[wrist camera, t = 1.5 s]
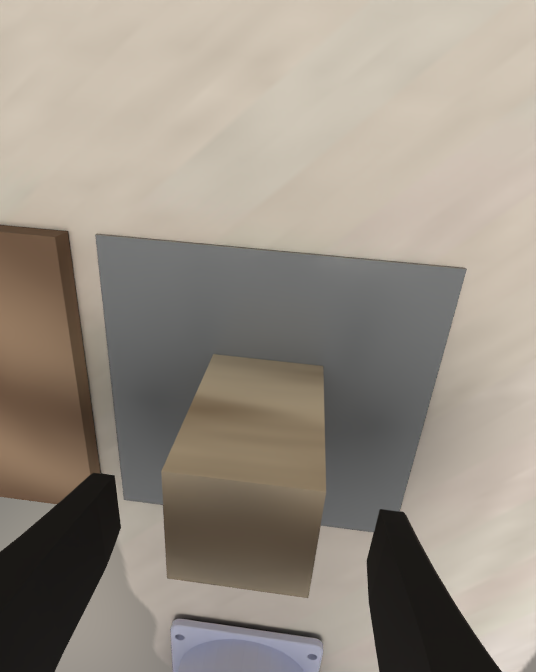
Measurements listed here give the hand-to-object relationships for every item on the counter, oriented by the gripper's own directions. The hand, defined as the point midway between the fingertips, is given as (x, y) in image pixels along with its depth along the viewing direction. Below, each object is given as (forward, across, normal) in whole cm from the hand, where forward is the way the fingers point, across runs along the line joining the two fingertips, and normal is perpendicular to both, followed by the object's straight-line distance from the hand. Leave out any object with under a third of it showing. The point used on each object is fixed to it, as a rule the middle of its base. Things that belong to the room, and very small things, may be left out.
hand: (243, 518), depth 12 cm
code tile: (+6, 0, 0) cm, 6 cm away
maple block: (+5, 0, 0) cm, 5 cm away
